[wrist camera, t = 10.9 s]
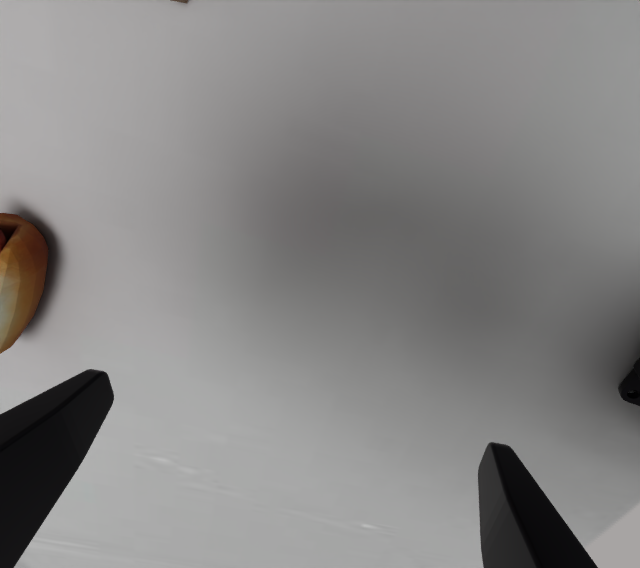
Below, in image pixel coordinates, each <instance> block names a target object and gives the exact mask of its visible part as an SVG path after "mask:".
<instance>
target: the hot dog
mask: <svg viewBox="0 0 640 568" xmlns="http://www.w3.org/2000/svg"><path fill="white" fill-rule="evenodd" d="M47 262H48V247H47V244H46V241H45V239H44V237H43V236H42V235H41V234H40V232H39V231H38V230H37V229H36V228H35V226H34V225H33V224H31V223H30V222H28V221H26V220H25V219H23V218H21V217H20V216H18V215H15V214H7V213H0V354H1V353H2V352H4V351H5V350H7V349H8V348H10V347H11V346H12V345H13V344H14V343H15V341H16V340H17V339H18V338H19V336H20V335H21V334H22V332H23V331H24V329H25V328H26V326H27V325H28V323H29V322H30V320H31V319H32V317H33V316H34V314H35V311H36V309H37V306H38V303H39V301H40V298H41V296H42V293H43V289H44V282H45V276H46V269H47Z"/></svg>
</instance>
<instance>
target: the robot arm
mask: <svg viewBox="0 0 640 568" xmlns="http://www.w3.org/2000/svg"><path fill="white" fill-rule="evenodd" d="M633 367H634V369H633V370H632V371H631V372H630V373H629V375H628V376H627V377H626V378H625V379H624V381H623V382H622V383H621V384H620V386H619V388H618V389H619V393H620V395H621V397H622V398H623V400H625V401H627V402H630V403H633V404H635V405H638V406H640V358H639V359H638V360H637V362H636V363H635V364H634V366H633ZM632 390H636V391H635V392H633V393H628V392H629V391H632ZM113 400H114V393H113V390H112V387H111V383H110V380H109V377H108V374H107V373H106V372H104V371H99V370H94V369H89V370H86V371H84V372H82V373H80V374H78V375H76V376H74V377H72V378H70V379H68V380H66V381H64V382H63V383H61V384H59V385H57V386H55V387H53V388H51V389H49V390H47V391H45V392H43V393H41V394H39V395H37V396H35V397H33V398H31V399H30V400H28V401H26V402H24V403H22V404H20V405H18V406H16V407H14V408H12V409H10V410H8V411H6V412H4V413H2V414H0V568H14V566H15V565H16V563H17V562H18V560H19V559H20V557H21V555H22V554H23V552H24V551H25V549H26V548H27V546H28V545H29V543H30V542H31V540H32V539H33V537H34V535H35V534H36V532H37V531H38V529H39V528H40V526H41V525H42V523H43V522H44V520H45V519H46V517H47V516H48V514H49V512H50V511H51V509H52V508H53V506H54V505H55V503H56V502H57V500H58V499H59V497H60V496H61V494H62V492H63V491H64V489H65V488H66V486H67V485H68V483H69V482H70V480H71V479H72V477H73V476H74V474H75V472H76V471H77V469H78V468H79V466H80V464H81V463H82V461H83V459H84V458H85V456H86V454H87V452H88V450H89V448H90V446H91V444H92V443H93V441H94V439H95V437H96V435H97V433H98V431H99V429H100V427H101V425H102V423H103V421H104V420H105V418H106V416H107V414H108V412H109V410H110V408H111V406H112V404H113ZM478 486H479V511H480V536H481V551H482V559H483V566H484V568H598V567H597V566H596V564H595V563H594V562H593V560H592V559H591V557H590V556H589V555H588V553H587V552H586V551H585V549H584V548H583V546H582V545H581V544H580V542H579V541H578V539H577V538H576V537H575V535H574V534H573V532H572V531H571V530H570V528H569V527H568V526H567V524H566V523H565V521H564V520H563V519H562V517H561V516H560V514H559V513H558V512H557V510H556V509H555V508H554V506H553V505H552V503H551V502H550V501H549V499H548V498H547V496H546V495H545V494H544V492H543V491H542V490H541V488H540V487H539V485H538V484H537V483H536V481H535V480H534V478H533V477H532V476H531V474H530V473H529V472H528V470H527V469H526V467H525V466H524V465H523V463H522V462H521V460H520V459H519V458H518V456H517V455H516V454H515V452H514V451H513V449H512V448H511V447H509V446H508V445H504V444H499V443H493V442H491V443H489V444H488V445H487V448H486V450H485V452H484V455H483V457H482V460H481V462H480V465H479V470H478Z"/></svg>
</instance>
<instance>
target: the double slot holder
mask: <svg viewBox="0 0 640 568" xmlns="http://www.w3.org/2000/svg"><path fill="white" fill-rule="evenodd" d="M172 1H177V2H183V3H187V2H188V0H172Z"/></svg>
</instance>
